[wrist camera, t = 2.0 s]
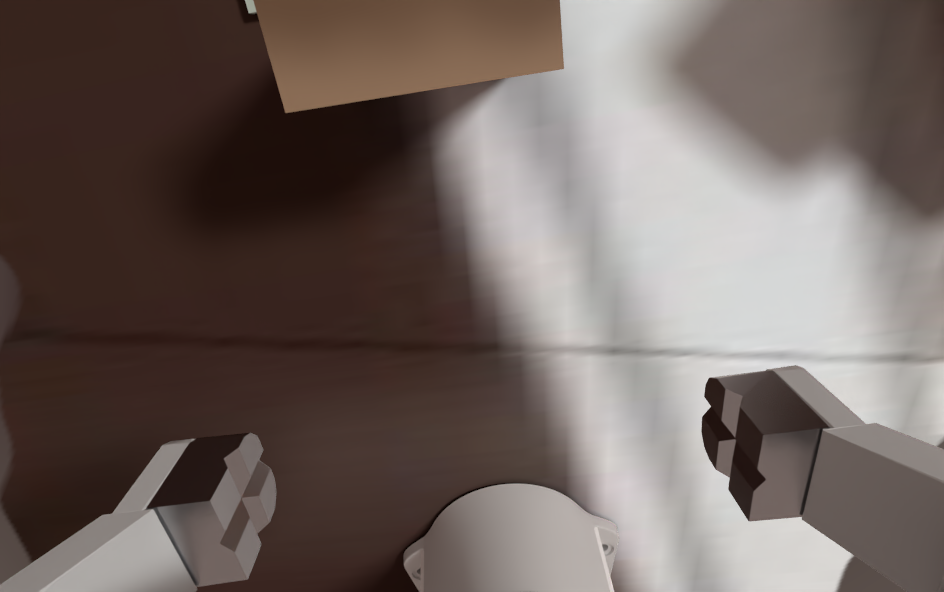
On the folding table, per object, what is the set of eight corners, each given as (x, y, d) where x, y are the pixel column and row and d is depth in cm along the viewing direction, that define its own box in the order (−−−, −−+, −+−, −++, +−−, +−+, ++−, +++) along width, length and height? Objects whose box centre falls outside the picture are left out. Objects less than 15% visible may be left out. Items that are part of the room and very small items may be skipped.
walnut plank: (521, 64, 29) (563, 69, 18) (347, 92, 29) (285, 113, 18) (513, -18, 27) (555, -68, 16) (329, 12, 27) (248, -16, 17)
